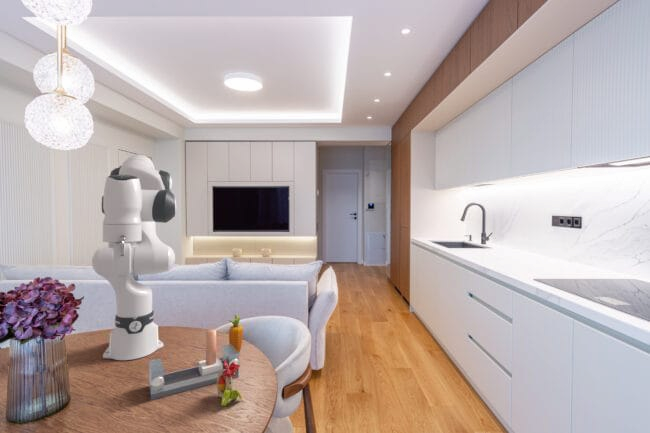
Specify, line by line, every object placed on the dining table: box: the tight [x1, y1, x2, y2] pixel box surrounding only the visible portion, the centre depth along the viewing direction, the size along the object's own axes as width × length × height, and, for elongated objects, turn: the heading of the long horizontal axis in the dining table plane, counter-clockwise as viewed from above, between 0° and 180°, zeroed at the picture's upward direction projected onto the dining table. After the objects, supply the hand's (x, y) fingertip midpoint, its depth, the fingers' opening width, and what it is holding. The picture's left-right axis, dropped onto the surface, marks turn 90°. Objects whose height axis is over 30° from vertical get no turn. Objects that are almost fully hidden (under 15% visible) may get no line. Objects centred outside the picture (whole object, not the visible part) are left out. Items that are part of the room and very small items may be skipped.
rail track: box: [148, 344, 240, 401], centre depth 95 cm, size 8×24×8 cm, turn 123°
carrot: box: [228, 314, 244, 354], centre depth 111 cm, size 5×5×15 cm
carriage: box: [198, 328, 223, 376], centre depth 98 cm, size 6×6×13 cm
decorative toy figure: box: [216, 360, 243, 407], centre depth 87 cm, size 6×11×9 cm
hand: (122, 285), depth 85 cm, fingers open, 8 cm apart
